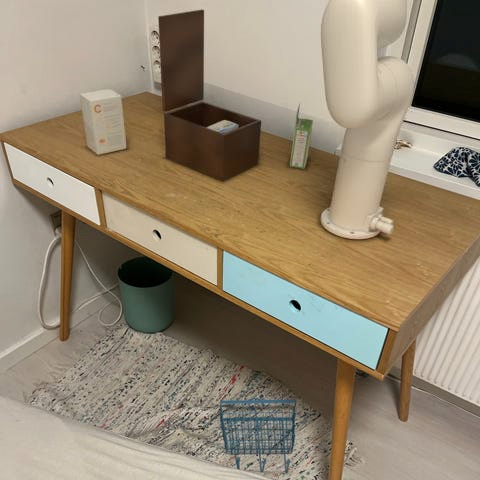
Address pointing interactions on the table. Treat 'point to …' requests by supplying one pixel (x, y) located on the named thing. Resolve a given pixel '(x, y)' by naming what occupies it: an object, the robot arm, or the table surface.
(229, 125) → the medicine box
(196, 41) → the chest lid
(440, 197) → the table surface
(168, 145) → the chest
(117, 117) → the small box
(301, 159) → the ink box
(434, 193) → the table surface
